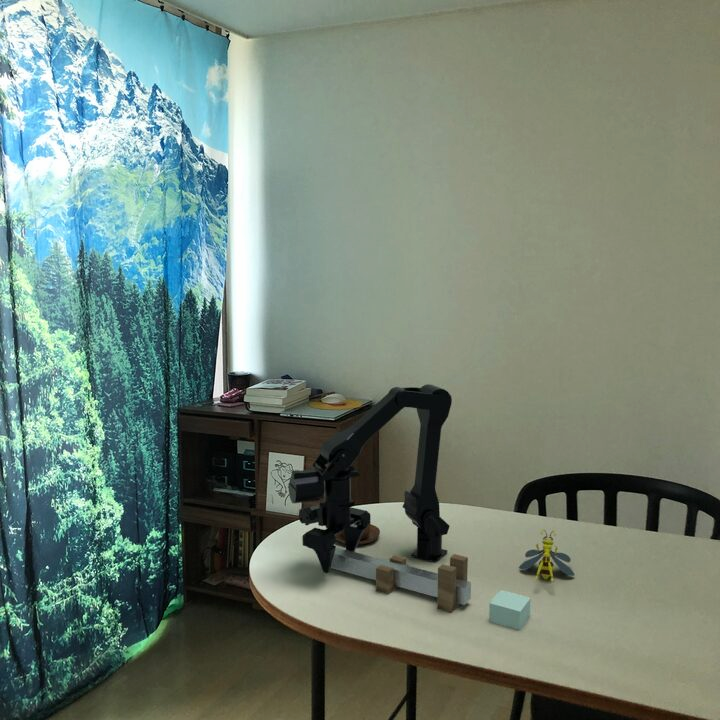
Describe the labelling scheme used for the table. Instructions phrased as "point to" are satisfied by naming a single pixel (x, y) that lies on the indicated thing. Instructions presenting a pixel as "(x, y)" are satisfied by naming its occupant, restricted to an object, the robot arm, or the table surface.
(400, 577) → the shaft
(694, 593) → the table surface
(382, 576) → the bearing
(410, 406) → the robot arm
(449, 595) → the bearing
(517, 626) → the block
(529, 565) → the toy
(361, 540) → the cup and saucer
